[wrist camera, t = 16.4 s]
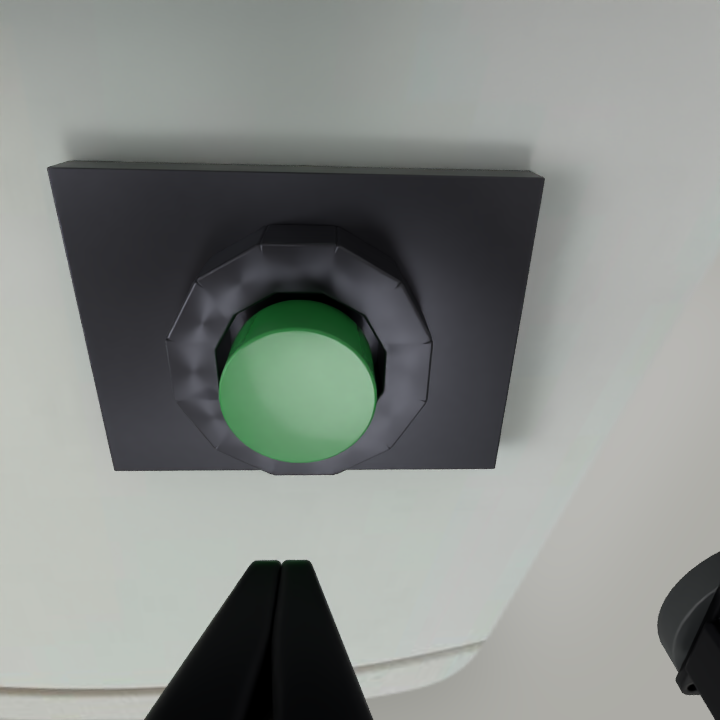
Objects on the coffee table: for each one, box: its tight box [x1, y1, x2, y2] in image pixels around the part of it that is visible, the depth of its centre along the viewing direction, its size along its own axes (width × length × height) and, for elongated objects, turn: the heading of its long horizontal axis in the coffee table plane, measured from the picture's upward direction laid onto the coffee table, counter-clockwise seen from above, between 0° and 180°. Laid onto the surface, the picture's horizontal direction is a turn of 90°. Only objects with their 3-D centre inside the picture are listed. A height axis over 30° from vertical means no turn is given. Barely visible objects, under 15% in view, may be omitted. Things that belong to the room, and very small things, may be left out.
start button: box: [219, 300, 377, 463], centre depth 13 cm, size 4×4×2 cm
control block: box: [47, 161, 545, 475], centre depth 15 cm, size 12×9×3 cm
